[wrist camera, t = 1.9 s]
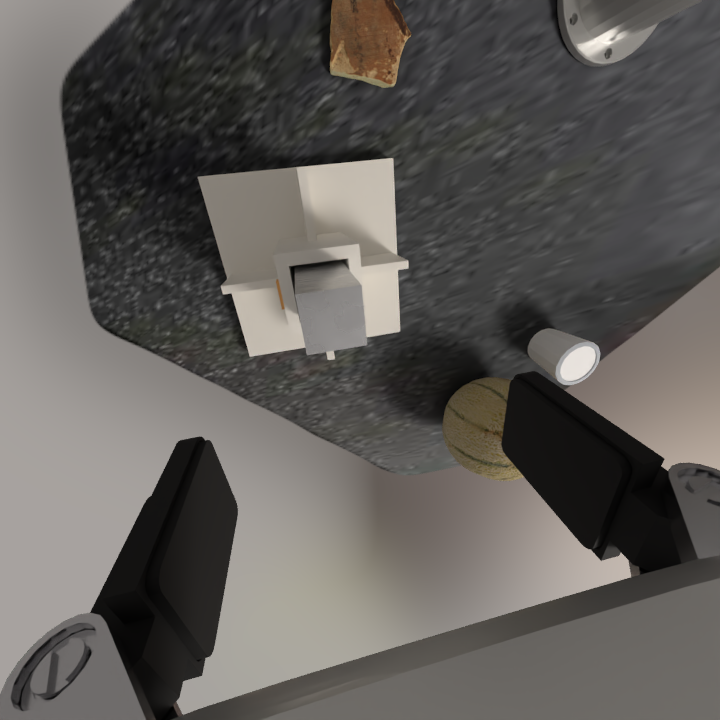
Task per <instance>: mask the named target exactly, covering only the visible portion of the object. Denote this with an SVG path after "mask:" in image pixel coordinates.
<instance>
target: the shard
mask: <svg viewBox="0 0 720 720" xmlns="http://www.w3.org/2000/svg"><path fill="white" fill-rule="evenodd" d="M410 36H411V33H410V31H409V29H408V28H407V24H406V23H405V21H404V19H403V16H402V14H401V12H400V10H399V8H398V7H397V6H396V5H395V2H394V0H332V6H331V25H330V48H331V59H330V73H331V75H335V76H342V77H347V78H353V79H358V80H363V81H365V82H368V83H370V84H373V85H378V86H380V87H382V88H384V87H386V88H387V87H393V86H394V85H395V83H396V78H397V71H398V66H399V60H400V56H401V53H402V50H403V47H404V45H405V42H406V41H407V39H408V38H409V37H410Z"/></svg>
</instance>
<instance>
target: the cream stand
mask: <svg viewBox="0 0 720 720" xmlns="http://www.w3.org/2000/svg"><path fill="white" fill-rule="evenodd" d="M198 180H199V184H200V187H201V190H202V194H203V197H204V201H205V204H206V208H207V211H208V214H209V218H210V221H211V225H212V228H213V232H214V235H215V238H216V242H217V245H218V249H219V252H220V256H221V259H222V262H223V266H224V269H225V273H226V276H227V280H226V281H225V282H224V283H223V284H222V285H221V289H222V292H223V294H230V293H232V297H233V300H234V304H235V307H236V310H237V314H238V317H239V321H240V324H241V328H242V331H243V334H244V338H245V341H246V345H247V348H248V352H249V355H250V357H251V356H257V355H263V354H269V353H275V352H281V351H287V350H293V349H299V348H305V343H304V338H303V333H302V328H301V322H300V317H299V312H298V307H297V302H296V297H295V265H302V264H309V263H317V262H324V261H332V260H339V259H340V260H341V261H342V262H343V263H344V265H345V266H346V267H347V268H348V269H349V271H350V272H351V273H352V274H353V275H354V276H355V278H356V279H357V280H358V281H359V282H360V284H361V285H362V295H363V305H364V316H365V326H366V337H371V336H377V335H383V334H389V333H395V332H400V314H399V289H398V270H401V269H408V260H406V259H404V258H402V257H400V256H398V255H397V240H396V216H395V191H394V167H393V158H388V159H378V160H367V161H357V162H346V163H336V164H325V165H315V166H304V167H294V168H284V169H273V170H263V171H252V172H242V173H231V174H221V175H210V176H200V177H198ZM326 353H327V358H328V360H332V359H335V356H334V351H329V352H326Z"/></svg>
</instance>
